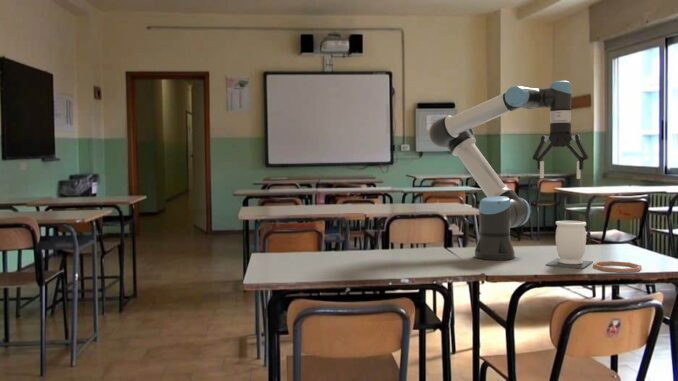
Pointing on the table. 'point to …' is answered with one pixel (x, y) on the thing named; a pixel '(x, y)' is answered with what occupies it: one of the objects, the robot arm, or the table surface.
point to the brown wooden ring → (635, 269)
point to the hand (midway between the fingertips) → (559, 178)
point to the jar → (570, 241)
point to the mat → (578, 266)
